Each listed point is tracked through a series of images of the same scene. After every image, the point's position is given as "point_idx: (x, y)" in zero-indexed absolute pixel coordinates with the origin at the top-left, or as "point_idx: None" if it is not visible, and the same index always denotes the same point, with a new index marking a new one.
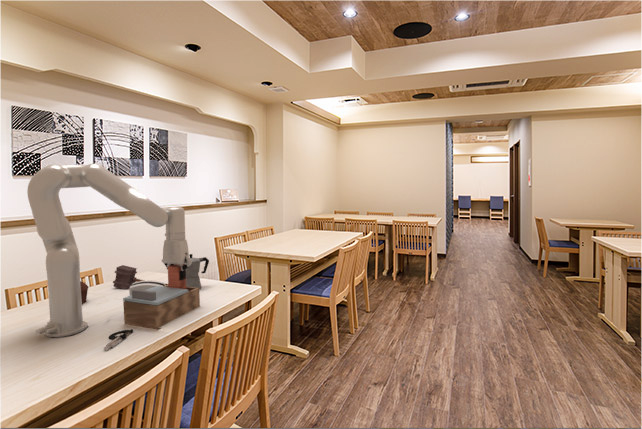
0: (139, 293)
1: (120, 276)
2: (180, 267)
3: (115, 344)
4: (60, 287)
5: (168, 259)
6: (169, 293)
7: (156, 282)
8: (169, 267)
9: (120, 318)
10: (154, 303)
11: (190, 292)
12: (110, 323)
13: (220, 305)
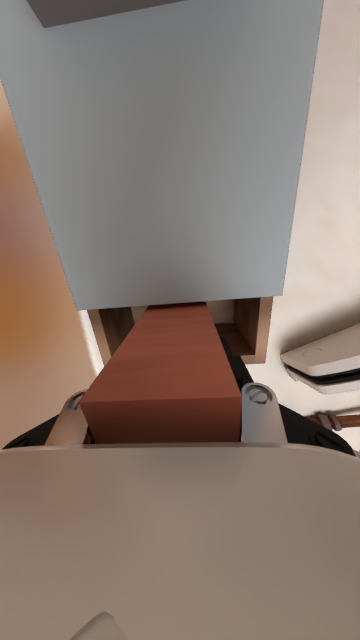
0: None
1: None
2: (78, 420)
3: None
4: None
5: (248, 587)
6: (96, 208)
7: (357, 379)
8: (208, 388)
9: (313, 141)
10: None
11: (91, 318)
12: (316, 67)
13: (103, 366)
